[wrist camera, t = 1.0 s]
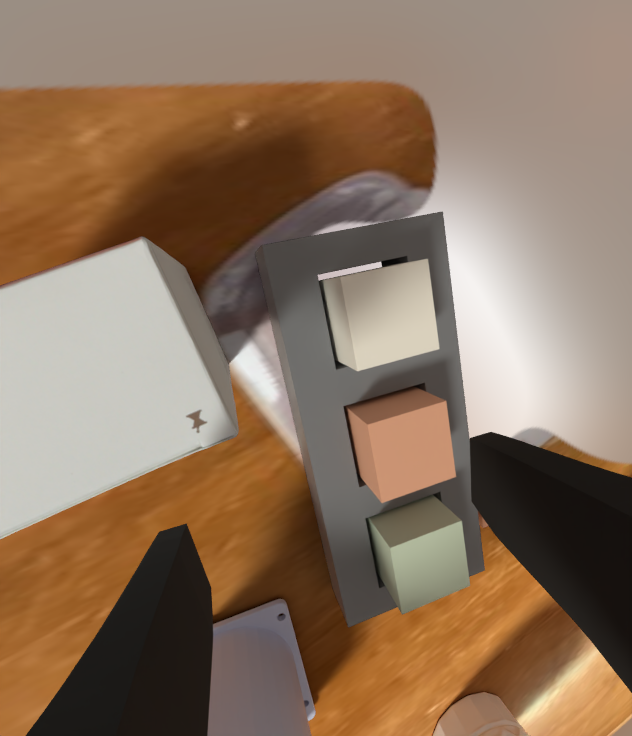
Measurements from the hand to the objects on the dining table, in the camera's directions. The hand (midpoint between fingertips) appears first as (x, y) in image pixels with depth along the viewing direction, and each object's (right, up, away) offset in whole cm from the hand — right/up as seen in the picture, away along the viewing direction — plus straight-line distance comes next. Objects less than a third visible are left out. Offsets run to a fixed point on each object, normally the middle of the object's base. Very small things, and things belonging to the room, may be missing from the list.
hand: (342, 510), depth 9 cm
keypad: (+3, 0, +13) cm, 14 cm away
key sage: (+4, -6, +13) cm, 15 cm away
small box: (-10, +5, +10) cm, 15 cm away
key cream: (+2, +6, +10) cm, 12 cm away
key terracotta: (+3, 0, +12) cm, 12 cm away
